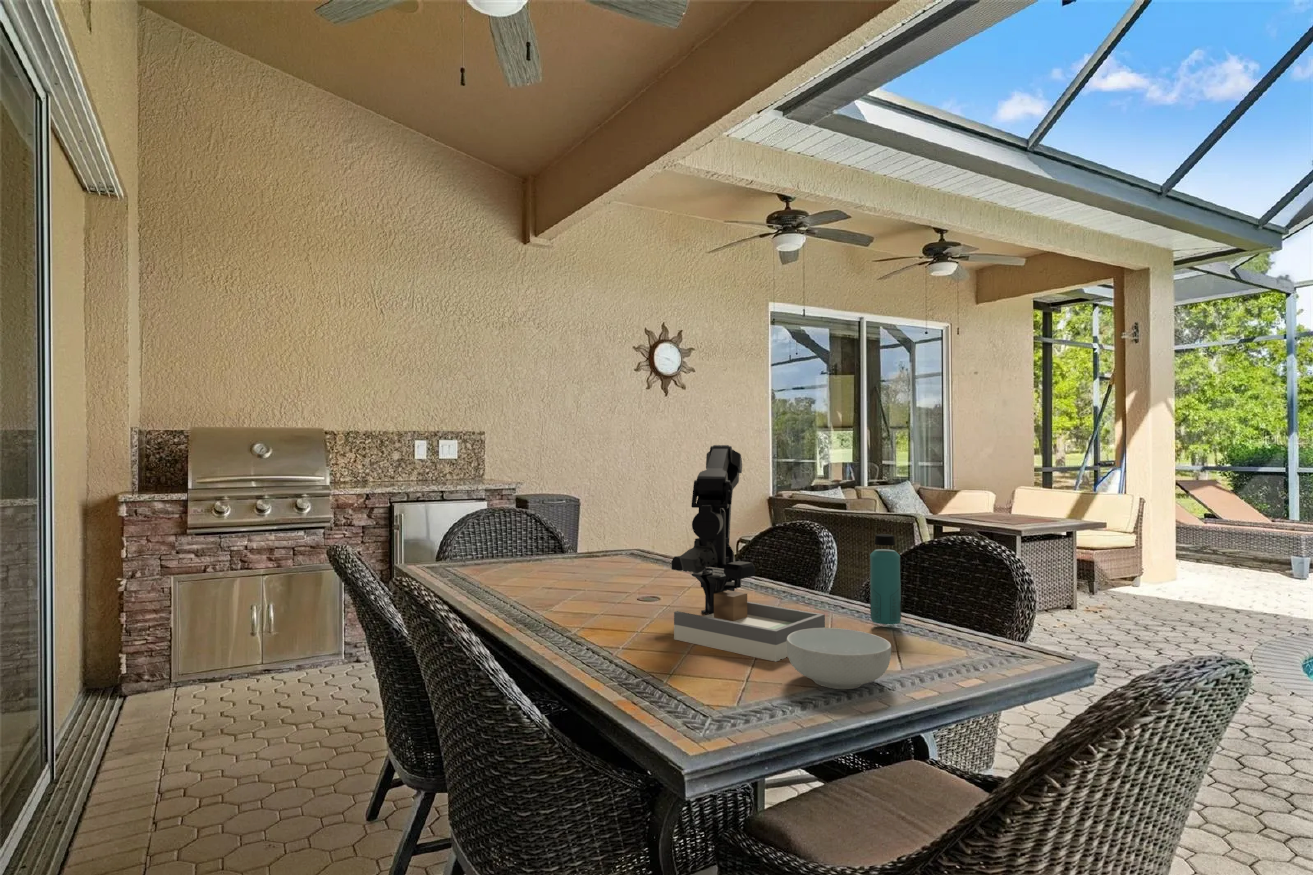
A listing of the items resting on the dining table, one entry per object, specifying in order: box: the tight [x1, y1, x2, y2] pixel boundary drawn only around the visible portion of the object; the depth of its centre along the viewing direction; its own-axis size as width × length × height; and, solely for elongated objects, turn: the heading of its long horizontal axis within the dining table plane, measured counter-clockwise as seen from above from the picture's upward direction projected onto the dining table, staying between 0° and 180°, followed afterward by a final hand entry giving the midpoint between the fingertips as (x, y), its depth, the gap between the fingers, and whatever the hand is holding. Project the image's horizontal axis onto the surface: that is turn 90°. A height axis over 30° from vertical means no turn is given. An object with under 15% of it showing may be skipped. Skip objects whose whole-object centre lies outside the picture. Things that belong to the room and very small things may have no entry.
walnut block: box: [714, 590, 748, 621], centre depth 161 cm, size 5×5×5 cm
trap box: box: [673, 601, 826, 662], centre depth 153 cm, size 24×18×6 cm
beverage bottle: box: [869, 533, 903, 625], centre depth 164 cm, size 6×7×20 cm
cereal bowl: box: [786, 627, 892, 690], centre depth 127 cm, size 17×17×7 cm
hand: (712, 606), depth 164 cm, fingers closed
